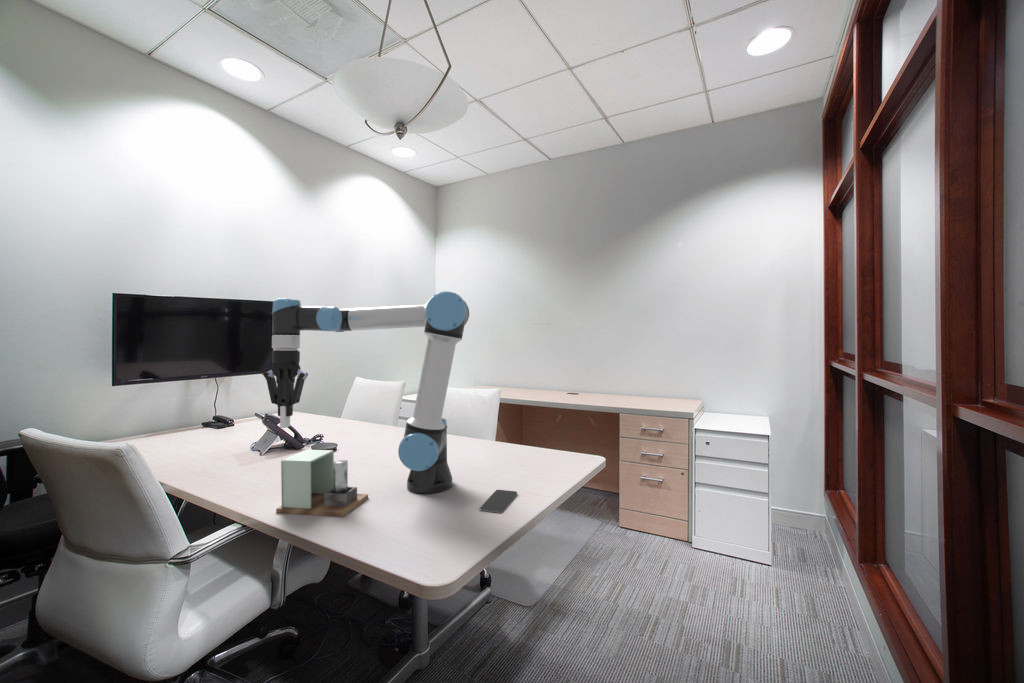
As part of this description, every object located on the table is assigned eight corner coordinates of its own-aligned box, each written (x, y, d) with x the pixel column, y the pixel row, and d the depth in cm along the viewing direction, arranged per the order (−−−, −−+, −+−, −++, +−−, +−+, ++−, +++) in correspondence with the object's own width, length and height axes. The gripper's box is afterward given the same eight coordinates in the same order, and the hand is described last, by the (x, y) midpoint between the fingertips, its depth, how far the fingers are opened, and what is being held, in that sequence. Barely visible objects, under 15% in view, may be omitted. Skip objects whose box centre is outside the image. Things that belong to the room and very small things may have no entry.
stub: (350, 500, 126) (350, 460, 126) (343, 505, 122) (343, 464, 122) (338, 499, 127) (338, 459, 127) (330, 504, 123) (330, 463, 123)
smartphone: (477, 509, 120) (496, 489, 135) (477, 512, 120) (496, 492, 135) (502, 512, 118) (517, 491, 133) (502, 515, 118) (518, 494, 133)
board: (368, 498, 131) (368, 483, 131) (343, 516, 117) (343, 500, 117) (307, 494, 134) (307, 480, 134) (276, 512, 120) (276, 496, 120)
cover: (334, 493, 131) (333, 450, 131) (310, 508, 120) (309, 461, 120) (308, 492, 133) (307, 449, 133) (281, 507, 121) (281, 460, 121)
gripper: (313, 349, 130) (312, 425, 130) (273, 349, 131) (272, 424, 131) (299, 350, 123) (298, 430, 123) (257, 349, 124) (256, 429, 124)
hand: (285, 426), depth 127 cm, fingers closed
